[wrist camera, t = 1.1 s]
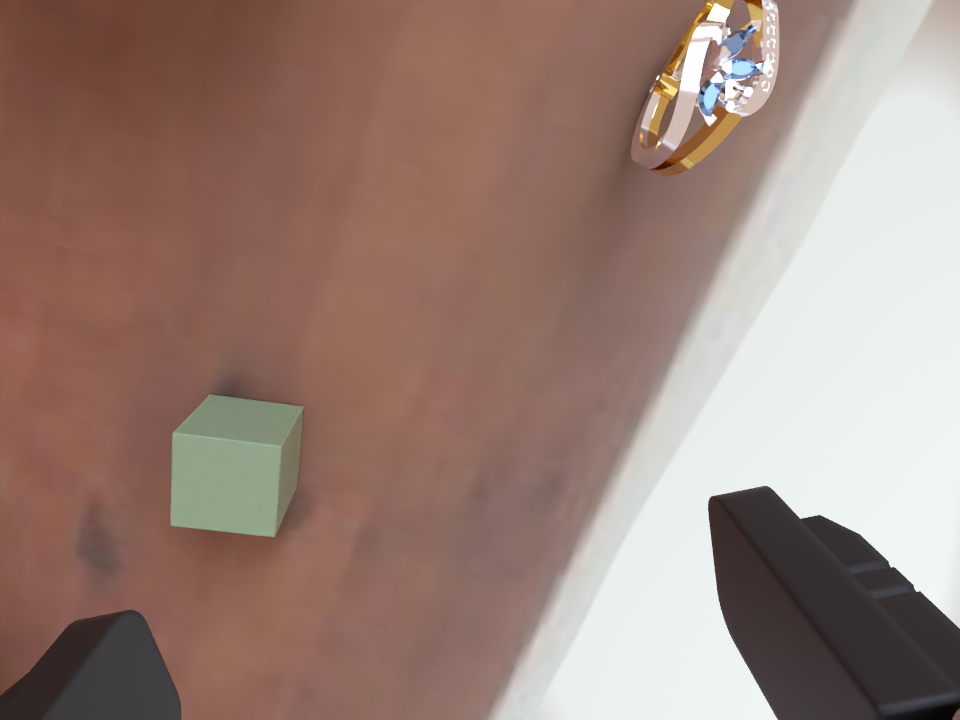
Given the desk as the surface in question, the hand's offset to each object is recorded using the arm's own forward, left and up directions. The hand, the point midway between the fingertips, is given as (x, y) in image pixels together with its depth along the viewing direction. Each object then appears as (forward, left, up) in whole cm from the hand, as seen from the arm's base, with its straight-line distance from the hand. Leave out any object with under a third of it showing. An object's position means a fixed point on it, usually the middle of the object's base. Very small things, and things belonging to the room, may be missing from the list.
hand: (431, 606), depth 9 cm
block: (-8, -9, -22) cm, 25 cm away
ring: (+8, +10, -22) cm, 26 cm away
